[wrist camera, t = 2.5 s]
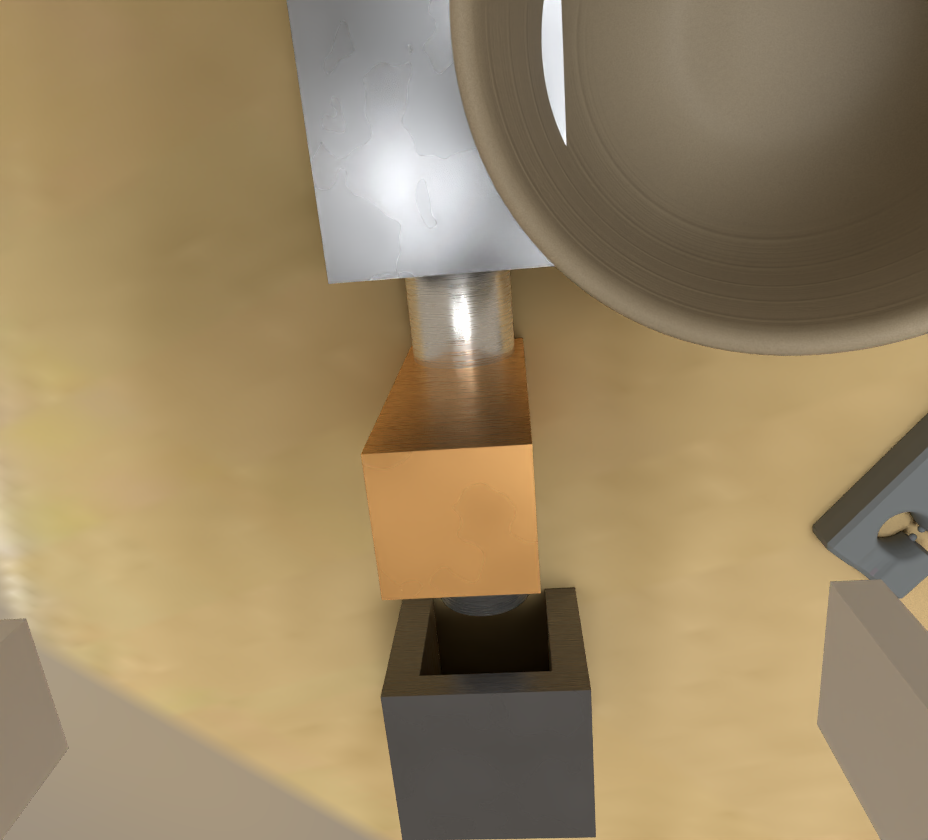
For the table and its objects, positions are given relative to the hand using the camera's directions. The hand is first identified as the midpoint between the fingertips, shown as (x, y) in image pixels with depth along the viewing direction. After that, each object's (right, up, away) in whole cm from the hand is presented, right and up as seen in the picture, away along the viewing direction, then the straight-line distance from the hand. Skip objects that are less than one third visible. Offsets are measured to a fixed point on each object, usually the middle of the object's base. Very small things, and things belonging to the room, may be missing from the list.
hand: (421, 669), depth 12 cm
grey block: (0, +15, +12) cm, 19 cm away
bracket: (+19, +3, +16) cm, 25 cm away
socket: (+2, -6, +19) cm, 20 cm away
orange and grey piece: (+1, +7, +14) cm, 16 cm away
